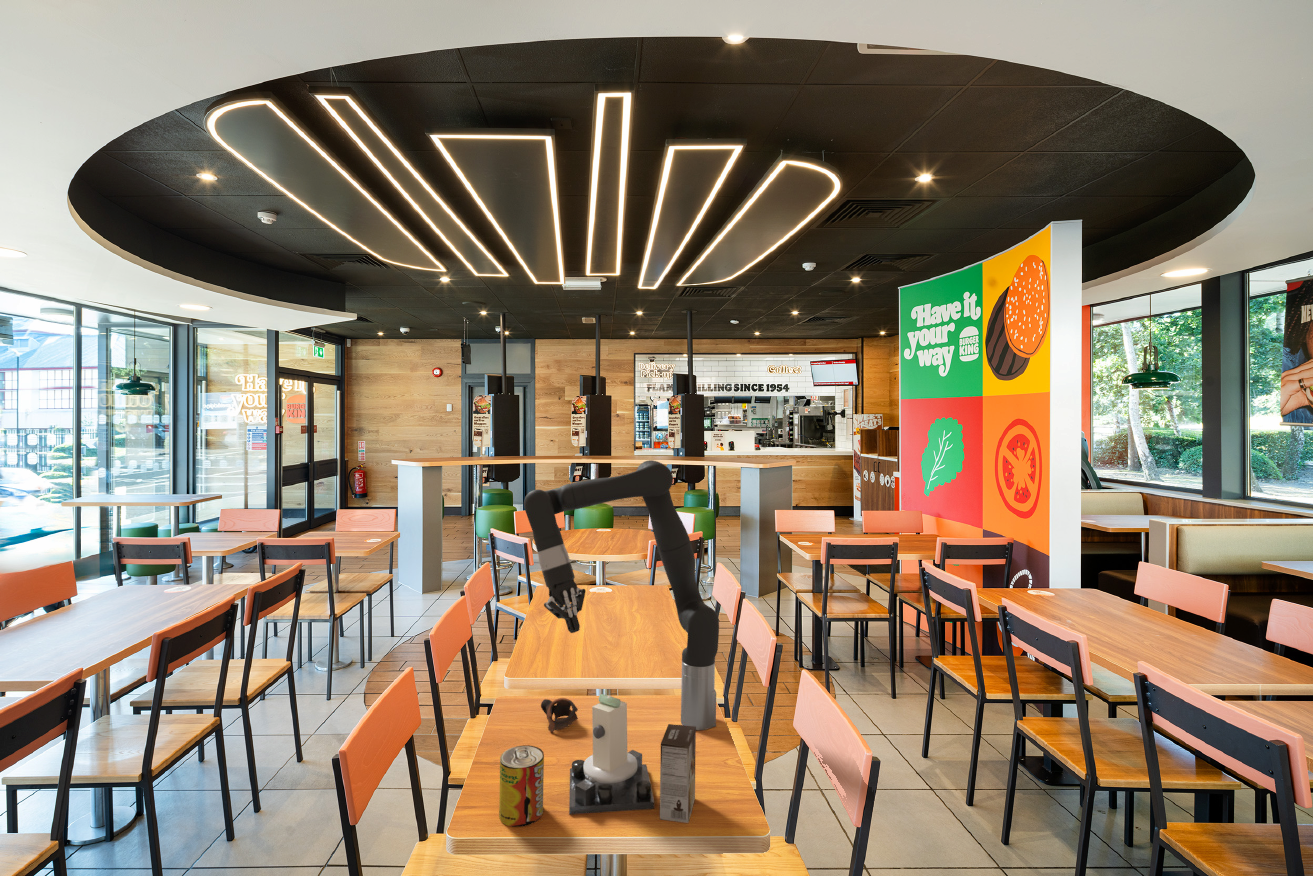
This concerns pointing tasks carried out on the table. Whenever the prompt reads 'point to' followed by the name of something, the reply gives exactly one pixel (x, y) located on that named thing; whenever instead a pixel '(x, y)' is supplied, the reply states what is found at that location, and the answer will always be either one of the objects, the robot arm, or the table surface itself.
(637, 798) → the base
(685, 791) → the coffee box
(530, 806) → the beverage can
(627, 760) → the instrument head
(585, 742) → the table surface
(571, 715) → the brown hollow shell
